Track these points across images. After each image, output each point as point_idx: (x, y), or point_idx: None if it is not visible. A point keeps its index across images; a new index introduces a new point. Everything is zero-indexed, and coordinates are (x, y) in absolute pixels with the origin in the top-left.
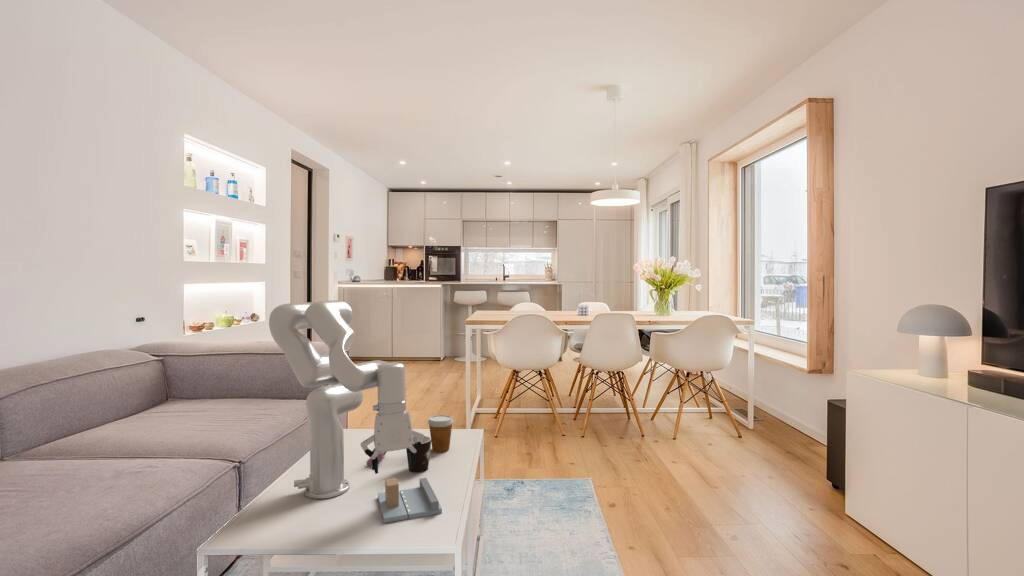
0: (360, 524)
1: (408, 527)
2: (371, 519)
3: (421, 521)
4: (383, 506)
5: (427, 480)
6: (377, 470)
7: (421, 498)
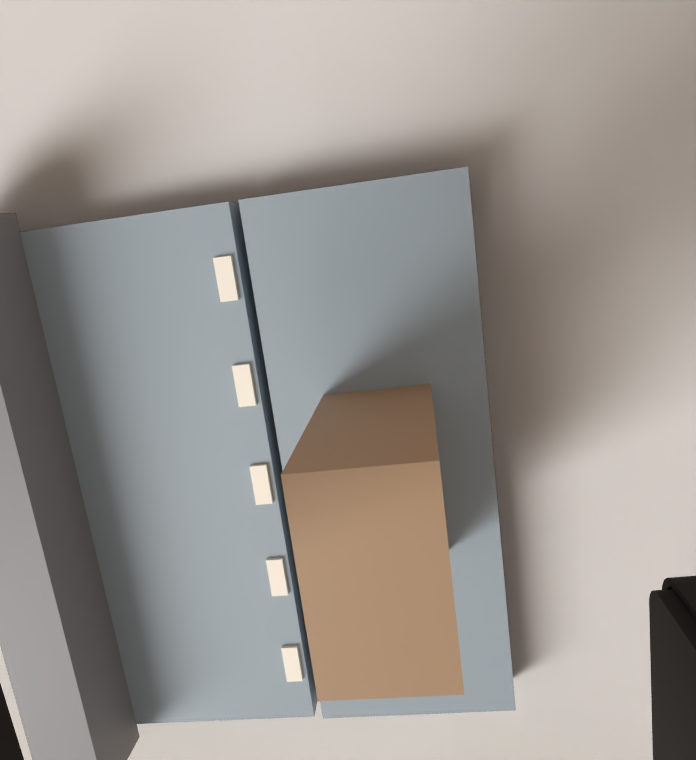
0: (690, 208)
1: (240, 31)
2: (581, 284)
3: (124, 126)
4: (469, 430)
5: (28, 736)
6: (686, 621)
7: (116, 503)
